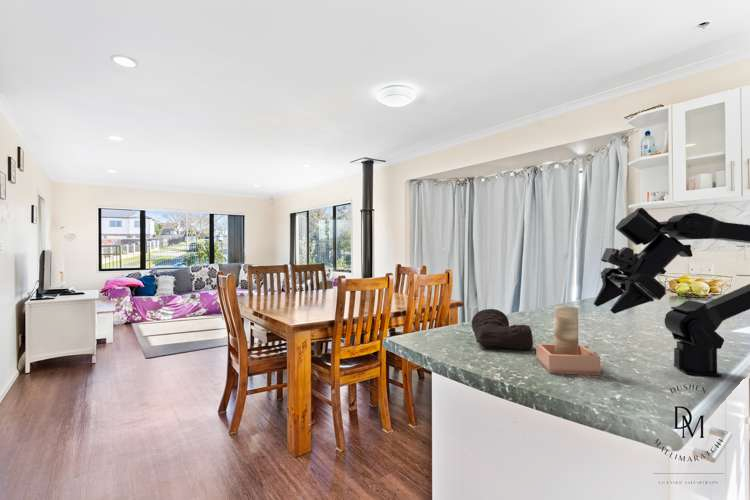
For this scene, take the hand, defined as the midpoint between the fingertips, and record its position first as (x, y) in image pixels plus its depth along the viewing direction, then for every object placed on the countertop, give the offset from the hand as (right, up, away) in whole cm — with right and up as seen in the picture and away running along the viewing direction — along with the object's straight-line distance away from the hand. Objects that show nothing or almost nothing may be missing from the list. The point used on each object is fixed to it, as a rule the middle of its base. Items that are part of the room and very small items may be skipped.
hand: (603, 308), depth 89 cm
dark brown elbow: (-17, -14, +22) cm, 31 cm away
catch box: (-8, -14, +1) cm, 16 cm away
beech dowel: (-8, -13, +1) cm, 15 cm away
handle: (+4, -14, +16) cm, 21 cm away
